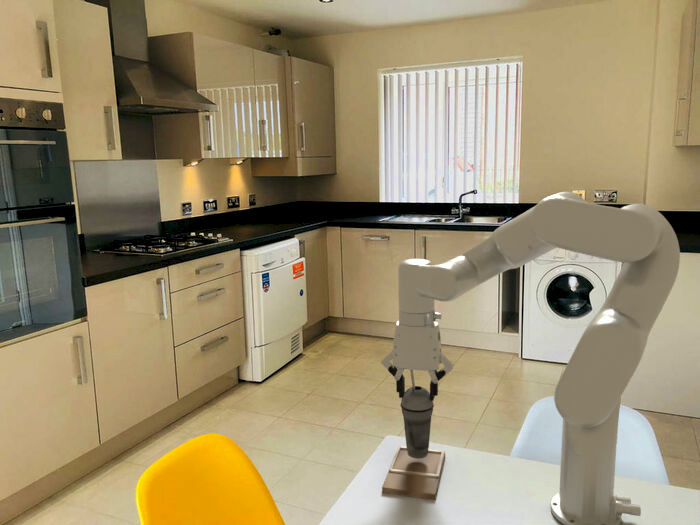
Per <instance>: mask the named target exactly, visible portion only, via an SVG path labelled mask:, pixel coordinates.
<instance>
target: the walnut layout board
mask: <svg viewBox="0 0 700 525" xmlns="http://www.w3.org/2000/svg"><path fill="white" fill-rule="evenodd" d="M445 460H446V451H445V450H440V449H430V448H428V455H427V456H426V457H424V458H420V459H416V458H412V457H410V456H409V455H408V451H407V446H405V445H404V446H403V445H398V446H397V448H396V451H395V453H394V456H393V458H392V461H391V463H390V466H389V468H388V472H387V474H386V477H385V479H384V482H383V484H382V487H381V491H382V492H381V493H384V494H391V495H396V496H397V495H399V496H405V497H414V498H421V499H427V500H436V498H437V495H438V494H437V493H438V489H439V485H440V483H441V482H440V480H441V477H442V473H443V467H444V464H445Z"/></svg>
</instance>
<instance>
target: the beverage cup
mask: <svg viewBox="0 0 700 525" xmlns="http://www.w3.org/2000/svg"><path fill="white" fill-rule="evenodd" d="M409 371H410V378H411V384H412V386H411V387H409V388H407V390H406V389H405V393H404V394H403V397H402V398H401V402H400V407H401V413H402V416H403V424H404V427H403V428H404V435H405V443H406V446H405V447H407V451H408V455H409V456H410V457H412V458H416V459H420V458H424V457H426V456H427V455H428V449H430V439H431V438H430V437H431V436H430V435H431V426H432V415H433V412H434V405H435V404H434V401H431V400H430V391H428V390H427V389H426V388H424V387H423V386H421V385H420V386H419V385H417V386H416V384H415V378H414V370H409Z"/></svg>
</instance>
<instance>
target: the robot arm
mask: <svg viewBox="0 0 700 525" xmlns="http://www.w3.org/2000/svg"><path fill="white" fill-rule="evenodd" d="M556 248H557V249H561V250H565V251H569V252H573V253H577V254H582V255H586V256H590V257H594V258H599V259H603V260H608V261H612V262H613V261H614V262H617V263H623V264H622V267H621V269H620V271H619V273H618V275H617V277H616V279H615V281H614V282H613V285H612V288H611V290H610V292H609V293H608V296H607V297H606V299H605V300H604V302H603V305H602V306H601V308H600V309H599V311H598V312H597V313H596V314H595V316H594V317H593V319H591V321H590V322H589V323H588V326H586V328H585V330H584V331H583V333H582V334H581V337H580V338H579V340H578V342H577V345H576V346H575V349H574V351H573V352H572V355H571V357H570V358H569V360H568V362H567V363H566V366H565V368H564V370H563V372H562V374H561V376H560V378H559V380H558V381H557V383H556V386H555V388H554V393H553V400H554V405H555V408H556V410H557V412H558V414H559V416H560V417H561V418H562V428H561V429H562V430H561V431H562V432H561V434H562V435H561V449H560V450H561V452H560V469H559V470H560V473H559V474H560V476H559V492H557V493H556V494H555V495H553V496H552V498H551V500H550V511H551V513H552V514H553V517H555V519H556V520H557V521H559V522H560V523H561V524H563V525H621V522H622V515H623V514H626V515H629V516H635V517H637V516H638V517H641V515H642V514H641V513H642V512H641V506H640V504H634V503H633V504H632V500H631V497H620V496H617V495H616V494H615V491H614V490H615V489H614V488H615V475H616V474H615V472H616V462H617V460H616V459H617V444H618V431H619V422H620V421H619V418H620V409H621V400H622V395H623V394H624V392H625V390H626V389H627V386H628V384H629V383H630V381H631V380H632V378H633V376H634V374H635V372H636V370H637V368H638V367H639V364H640V362H641V361H642V358H643V356H644V352H645V350H646V346H647V344H648V343H647V342H648V338H649V335H650V333H651V331H652V328H653V327H654V325H655V322H656V321H657V319H658V318H659V315H660V313H661V312H662V310H663V307H664V305H665V303H666V302H667V300H668V297H669V295H670V294H671V291H672V289H673V287H674V284H675V282H676V280H677V277H678V273H679V269H680V263H681V261H680V260H681V250H680V245H679V240H678V237H677V234H676V232H675V230H674V228H673V227H672V225H671V224H670V222H669V221H668V220H667V219H666V217H665V216H664V215H663V214H662V213H661V212H659V211H658V210H657V209H655V208H654V207H653V206H649V205H647V204H644V203H634V204H633V203H632V204H628V205H624V206H622V207H620V208H619V207H615V206H608V205H607V206H606V205H604V204H603V205H601V204H598V203H597V204H596V203H593V202H587V201H586V199H584V198H583V197H582V196H581V195H579V194H578V193H576V192H572V191H562V192H561V191H560V192H558V193H555V194H552V195H550V196H549V195H548V196H547V197H545V198H543V199H541V200H540V201H538V202H537V203H536V205H534V206H533V207H531V208H529V209H528V210H526V211H525V212H523V213H521V214H519V215H517V216H516V217H514V218H512V219H511V220H509V221H508V222H505V223H504V224H501V225H500V226H499V227H497V228H496V229H495V230H494V231H492V233H491V235H490V236H488V238H486V239H485V240H484V241H481V242H480V243H478V244H477V245H475V246H473V247H472V248H469V249H468V250H467V251H465V252H463V253H461V254H459V255H457V256H456V257H454V258H451V259H449V260H447V261H445V262H442V263H438V264H434V263H433V262H432V261H431V260H429V259H426V258H425V259H424V258H409V259H408V258H407V259H404V260H402V261H401V262H400V263H399V264H398V268H397V269H398V270H397V272H398V274H397V276H398V277H397V281H398V320H397V321H396V323H395V327H394V332H393V333H394V335H393V343H392V344H393V345H392V350H391V351H390V352H389V353H388V354H386V356H384V358H382V360H381V365H383V367H384V368H385V369H387V370H388V373H390V374H391V375H392V377H394V380H395V382H396V383H395V384H396V385H395V386H396V393H398V397H399V398H400V399H402V397H403V394H404V393H405V391H406V389H405V388H406V384H405V383H406V381H405V380H406V378H405V376H404V374H403V373H404V370H409V371H410V370H413V371H422V372H423V371H424V372H428V374H429V376H430V379H431V380H430V382H429V393H430V400H431V401H433V402H434V400H435V397H436V396H438V395H439V381H440V380H442V379H443V378H444V377H445V376H446V375H447V374H449V373H450V372H451V370H453V368H454V364H453V362H452V361H451V360H449V358H447V357H446V355H445V354H444V353H442V340H441V332H440V325H439V322H437V321H438V320H442V313H440V312H437V311H436V308H435V300H436V301H438V302H439V301H440V302H444V303H447V302H452V301H455V300H456V299H458V298H460V297H461V296H463V295H465V293H468V292H469V291H471V290H473V289H475V288H476V287H478V286H480V285H482V284H483V283H485V282H487V281H489V280H491V279H493V278H494V277H496V276H498V275H500V274H502V273H504V272H507V271H508V270H514V269H518V268H520V267H523V266H524V265H526V264H528V263H530V262H532V261H534V260H535V259H537V258H539V257H541V256H543V255H545V254H547V253H548V252H550V251H552V250H554V249H556ZM391 361H392V362H391ZM440 364H442V365H443V368H441V369H440V370H439V368H440Z"/></svg>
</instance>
